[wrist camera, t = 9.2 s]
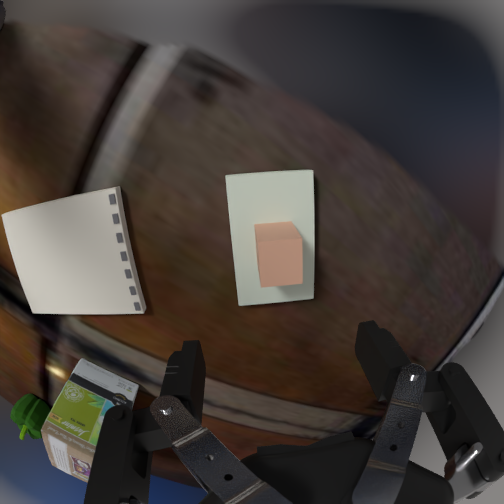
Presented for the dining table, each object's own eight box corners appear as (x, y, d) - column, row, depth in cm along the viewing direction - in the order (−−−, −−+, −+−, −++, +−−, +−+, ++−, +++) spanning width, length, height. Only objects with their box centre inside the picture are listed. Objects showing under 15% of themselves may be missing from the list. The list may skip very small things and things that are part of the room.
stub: (238, 300, 31) (239, 334, 25) (225, 175, 26) (222, 183, 20) (311, 293, 31) (325, 325, 25) (310, 169, 26) (329, 177, 21)
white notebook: (37, 308, 31) (32, 313, 30) (7, 212, 26) (0, 215, 24) (146, 307, 31) (143, 314, 30) (120, 186, 26) (114, 188, 25)
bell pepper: (31, 384, 37) (10, 420, 28) (61, 412, 40) (44, 448, 30) (18, 391, 38) (-1, 423, 29) (45, 417, 41) (30, 449, 32)
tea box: (79, 354, 34) (38, 430, 20) (140, 383, 36) (115, 467, 22) (76, 404, 39) (50, 466, 25) (126, 427, 40) (108, 493, 27)
